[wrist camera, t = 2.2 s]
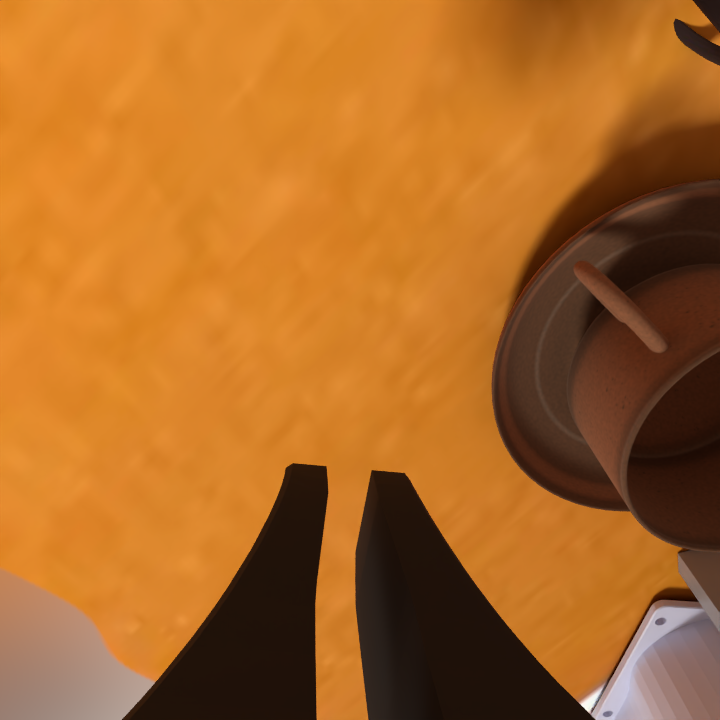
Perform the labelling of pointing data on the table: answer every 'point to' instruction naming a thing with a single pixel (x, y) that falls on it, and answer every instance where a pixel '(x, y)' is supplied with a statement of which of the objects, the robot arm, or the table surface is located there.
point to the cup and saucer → (624, 366)
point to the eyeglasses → (716, 4)
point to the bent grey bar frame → (703, 579)
